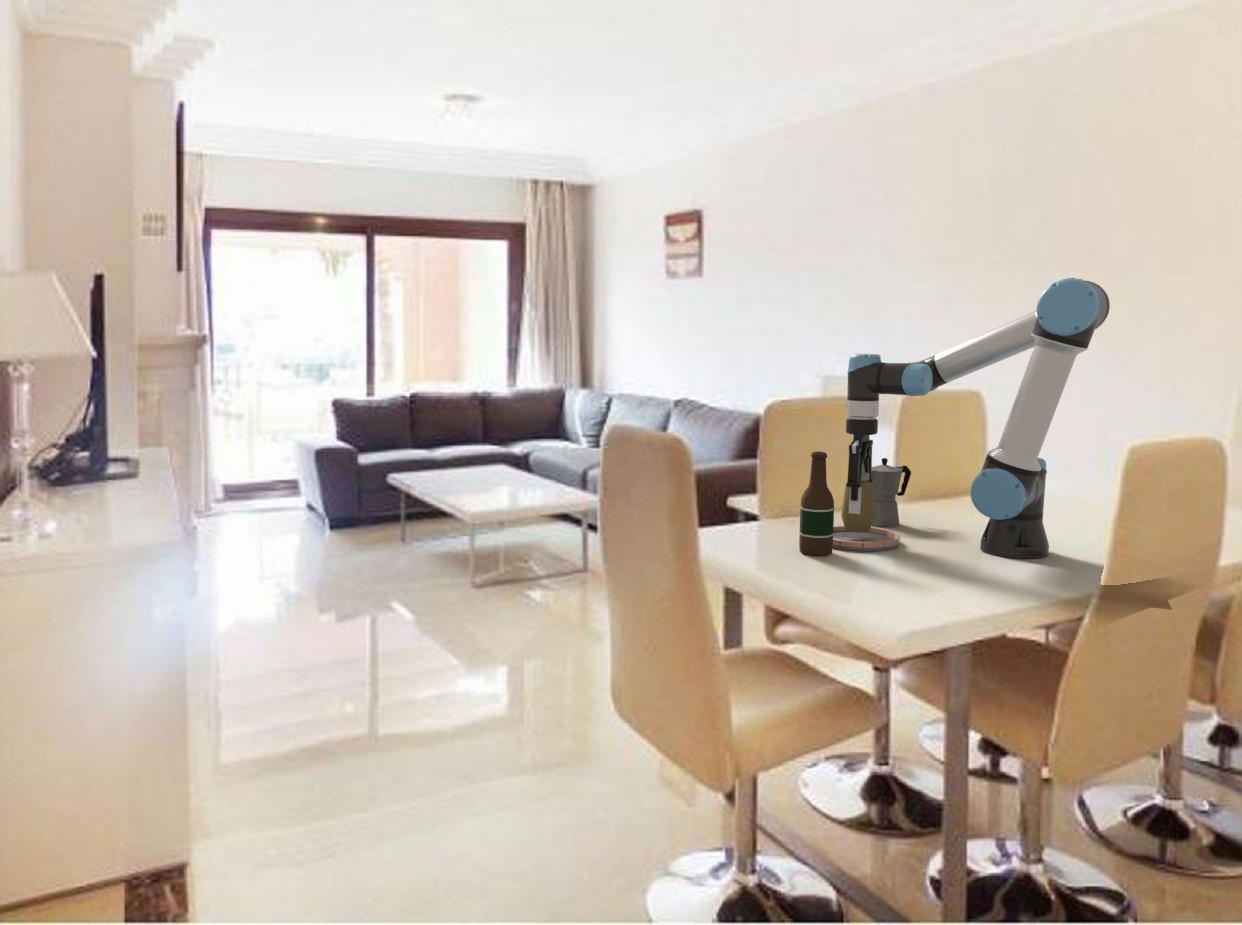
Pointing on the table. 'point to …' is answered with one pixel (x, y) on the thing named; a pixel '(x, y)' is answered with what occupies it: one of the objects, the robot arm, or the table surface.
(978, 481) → the robot arm
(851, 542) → the dish
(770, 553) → the table surface
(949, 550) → the table surface
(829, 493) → the beer bottle
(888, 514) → the coffeepot
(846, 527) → the squeeze bottle
